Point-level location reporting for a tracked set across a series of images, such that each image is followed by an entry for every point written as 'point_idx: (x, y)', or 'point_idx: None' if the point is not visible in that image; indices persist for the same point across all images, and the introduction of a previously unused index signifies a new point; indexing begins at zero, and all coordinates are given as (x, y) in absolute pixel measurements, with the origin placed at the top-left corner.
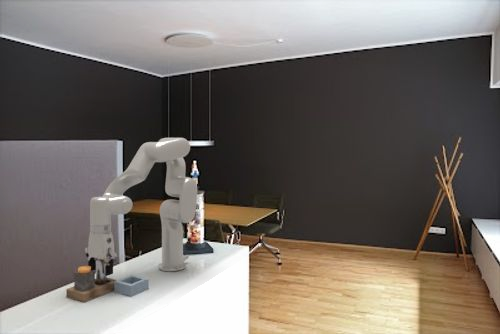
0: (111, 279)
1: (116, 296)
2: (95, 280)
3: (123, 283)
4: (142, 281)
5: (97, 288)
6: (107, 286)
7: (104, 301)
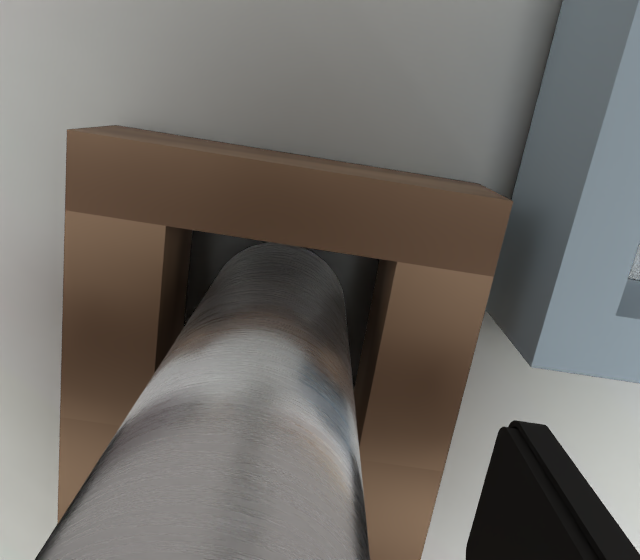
0: (334, 197)
1: (584, 392)
2: (128, 331)
3: None
4: None
5: (399, 548)
6: (450, 416)
7: None
